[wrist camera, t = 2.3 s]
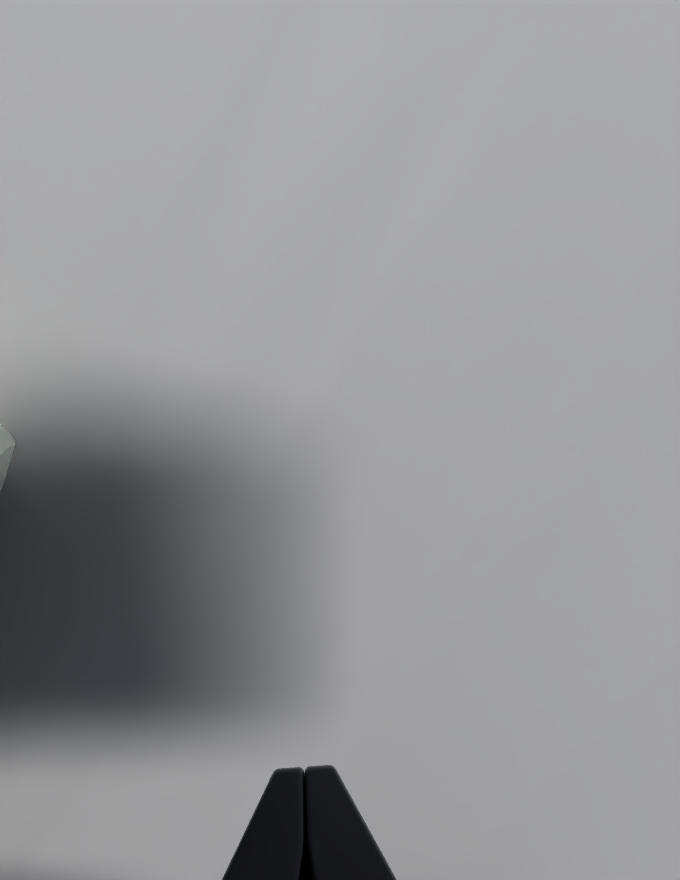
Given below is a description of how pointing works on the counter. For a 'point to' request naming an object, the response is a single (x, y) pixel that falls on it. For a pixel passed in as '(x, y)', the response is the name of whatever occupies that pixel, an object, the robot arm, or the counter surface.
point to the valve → (5, 452)
